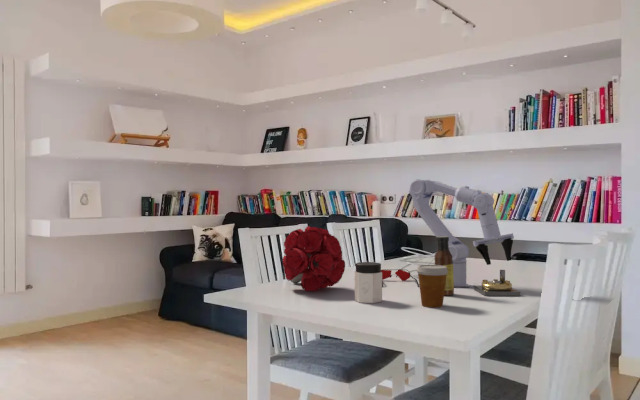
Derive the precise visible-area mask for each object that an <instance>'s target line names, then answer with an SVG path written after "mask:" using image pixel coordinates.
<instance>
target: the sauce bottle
mask: <svg viewBox="0 0 640 400" xmlns="http://www.w3.org/2000/svg"><path fill="white" fill-rule="evenodd" d="M448 241H449V237H448V236H438V237H436V243H437V248H436V249H437V250H436V252H435V254H434V264H433V265H441V266H446V267H447V271H448V272H447V275H446V283H445V291H444V297H445V296H446V297H447V296H452V295H454V294H455V287H454V276H453V260H452V255H451V253H450V251H449V245H448Z"/></svg>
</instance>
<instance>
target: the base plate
mask: <svg viewBox="0 0 640 400" xmlns="http://www.w3.org/2000/svg"><path fill="white" fill-rule="evenodd" d="M473 289H474V291H476V292H477V293H479V294H480V295H483V296H484V297H521V291H519V290H518V289H516V288H514V287H512V289H511V290H504V291H499V290H488V289H484V288H482V285H474V286H473Z"/></svg>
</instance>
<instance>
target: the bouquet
mask: <svg viewBox="0 0 640 400" xmlns="http://www.w3.org/2000/svg"><path fill="white" fill-rule="evenodd" d="M340 244H341V243H340V241H339V239H338V238H337V237H336V236H335V235H332V234H331V233H330V232H329V230H328V229H327V228H326V229H324V228H322V227H315V226H312V227H311V226H309V225H308V226H306V227H304V230H303V229H301V228H297V229H295V230H292V231H291V232H290V233H289V234H288V235H287V236H286V237H285V239H284V242H283V247H284V250H283V253H284V255H283V257H282V267H283V272H284V275H285V279H286V280H287V281H288V282H291V283H293V284H298V283H300V282H301V283H300V287H301V288H302V289H303V290H304V291H306V292H315V291H319V290H321V289H325V288H327V287H329V288H330V287H333V286H335V285H336V284H338V283H339V282H340V281H341V279H342V277H343V275H344V273H345V268H346V262H345V260H344V259H343V251H342V247H341V246H342V245H340Z"/></svg>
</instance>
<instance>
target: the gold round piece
mask: <svg viewBox="0 0 640 400" xmlns="http://www.w3.org/2000/svg"><path fill="white" fill-rule="evenodd" d="M512 284H513V283H512V282H511V281H510V280H506V269H499V279H498V278H493V280H488V279H482V282H481V286H482V288H484V289H488V290H499V291H504V290H511V289H512V288H513V285H512Z"/></svg>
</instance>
